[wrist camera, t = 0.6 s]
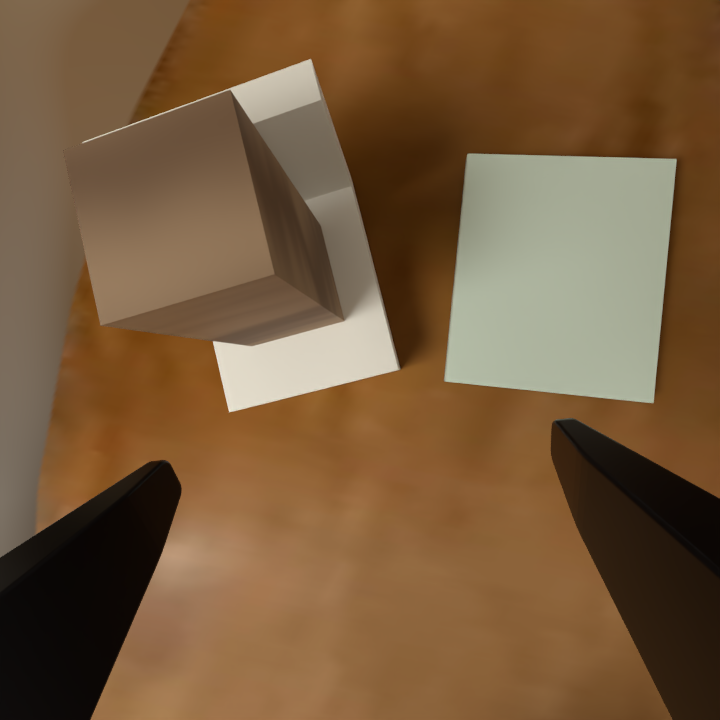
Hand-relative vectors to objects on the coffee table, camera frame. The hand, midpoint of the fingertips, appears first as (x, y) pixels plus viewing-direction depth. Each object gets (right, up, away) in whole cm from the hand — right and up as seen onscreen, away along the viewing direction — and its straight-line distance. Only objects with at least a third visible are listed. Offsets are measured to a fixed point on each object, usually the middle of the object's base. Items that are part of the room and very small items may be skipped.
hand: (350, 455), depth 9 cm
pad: (+10, +7, +12) cm, 17 cm away
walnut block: (-4, +6, +11) cm, 13 cm away
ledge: (-3, +6, +14) cm, 15 cm away
